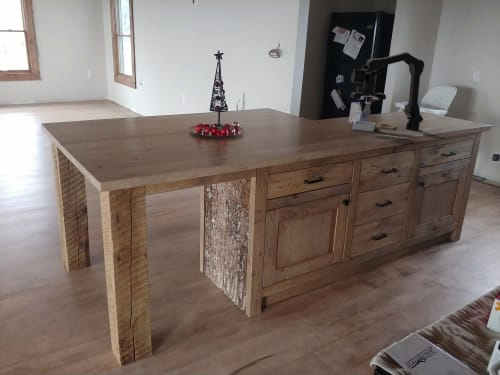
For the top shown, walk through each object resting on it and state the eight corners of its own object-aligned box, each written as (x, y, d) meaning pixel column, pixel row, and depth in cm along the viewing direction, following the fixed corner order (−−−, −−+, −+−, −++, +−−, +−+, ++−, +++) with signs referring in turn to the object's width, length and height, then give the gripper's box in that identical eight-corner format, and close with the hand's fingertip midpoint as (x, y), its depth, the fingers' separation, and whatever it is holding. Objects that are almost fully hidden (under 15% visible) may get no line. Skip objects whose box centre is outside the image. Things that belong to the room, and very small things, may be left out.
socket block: (394, 128, 263) (395, 125, 262) (393, 131, 254) (394, 127, 253) (377, 126, 266) (377, 123, 266) (375, 129, 257) (375, 125, 257)
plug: (371, 115, 249) (373, 102, 247) (363, 115, 248) (364, 102, 246) (368, 113, 254) (369, 101, 252) (359, 113, 253) (361, 101, 251)
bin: (374, 129, 257) (375, 122, 256) (372, 133, 247) (373, 126, 246) (354, 127, 261) (355, 120, 259) (352, 130, 251) (352, 123, 249)
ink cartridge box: (366, 125, 270) (369, 100, 265) (359, 125, 267) (362, 100, 263) (355, 121, 278) (358, 98, 273) (348, 122, 275) (351, 98, 271)
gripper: (379, 81, 254) (375, 109, 260) (348, 80, 251) (344, 108, 256) (388, 84, 244) (384, 112, 249) (356, 83, 241) (352, 112, 246)
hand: (366, 111), depth 250 cm, fingers closed on plug, 4 cm apart
